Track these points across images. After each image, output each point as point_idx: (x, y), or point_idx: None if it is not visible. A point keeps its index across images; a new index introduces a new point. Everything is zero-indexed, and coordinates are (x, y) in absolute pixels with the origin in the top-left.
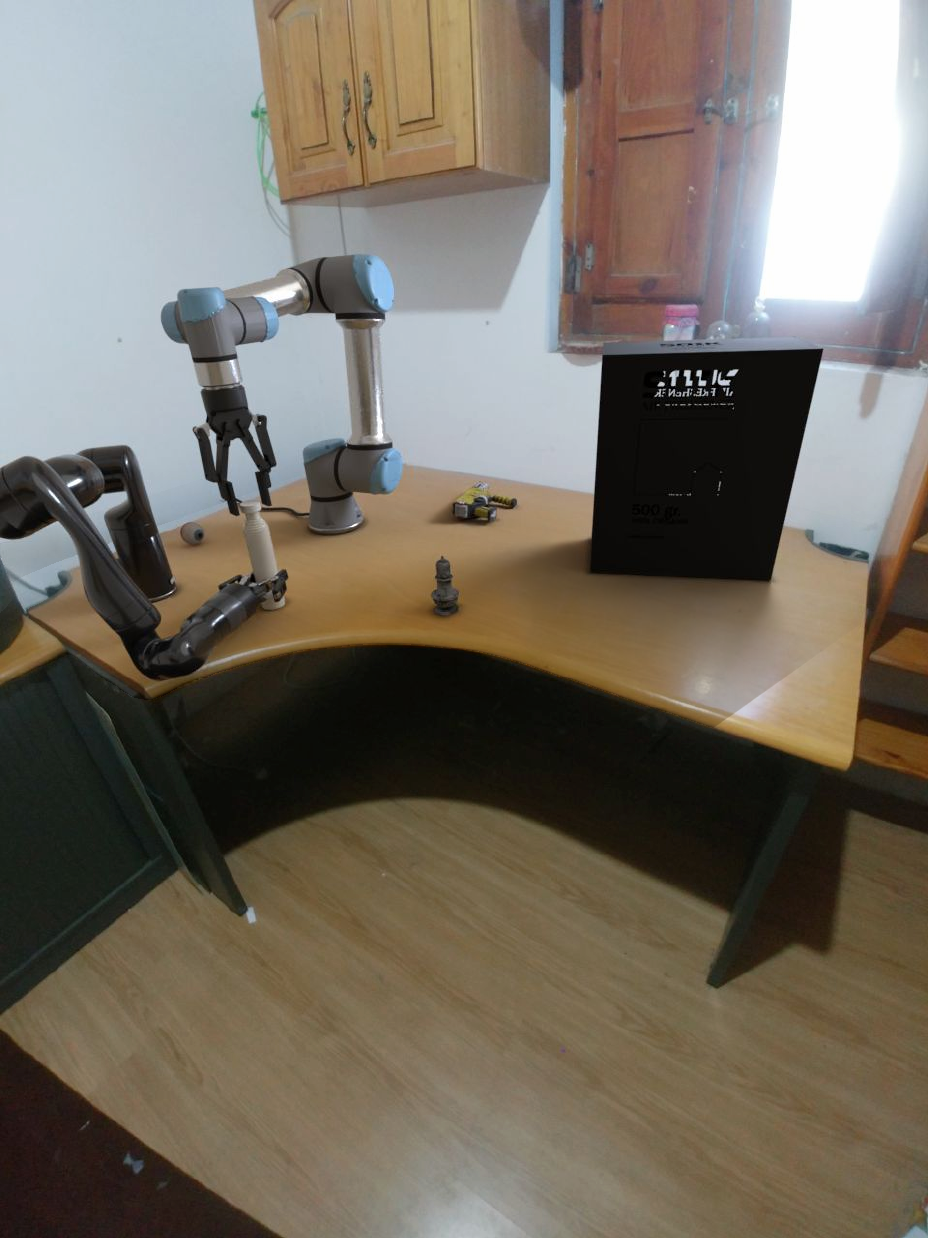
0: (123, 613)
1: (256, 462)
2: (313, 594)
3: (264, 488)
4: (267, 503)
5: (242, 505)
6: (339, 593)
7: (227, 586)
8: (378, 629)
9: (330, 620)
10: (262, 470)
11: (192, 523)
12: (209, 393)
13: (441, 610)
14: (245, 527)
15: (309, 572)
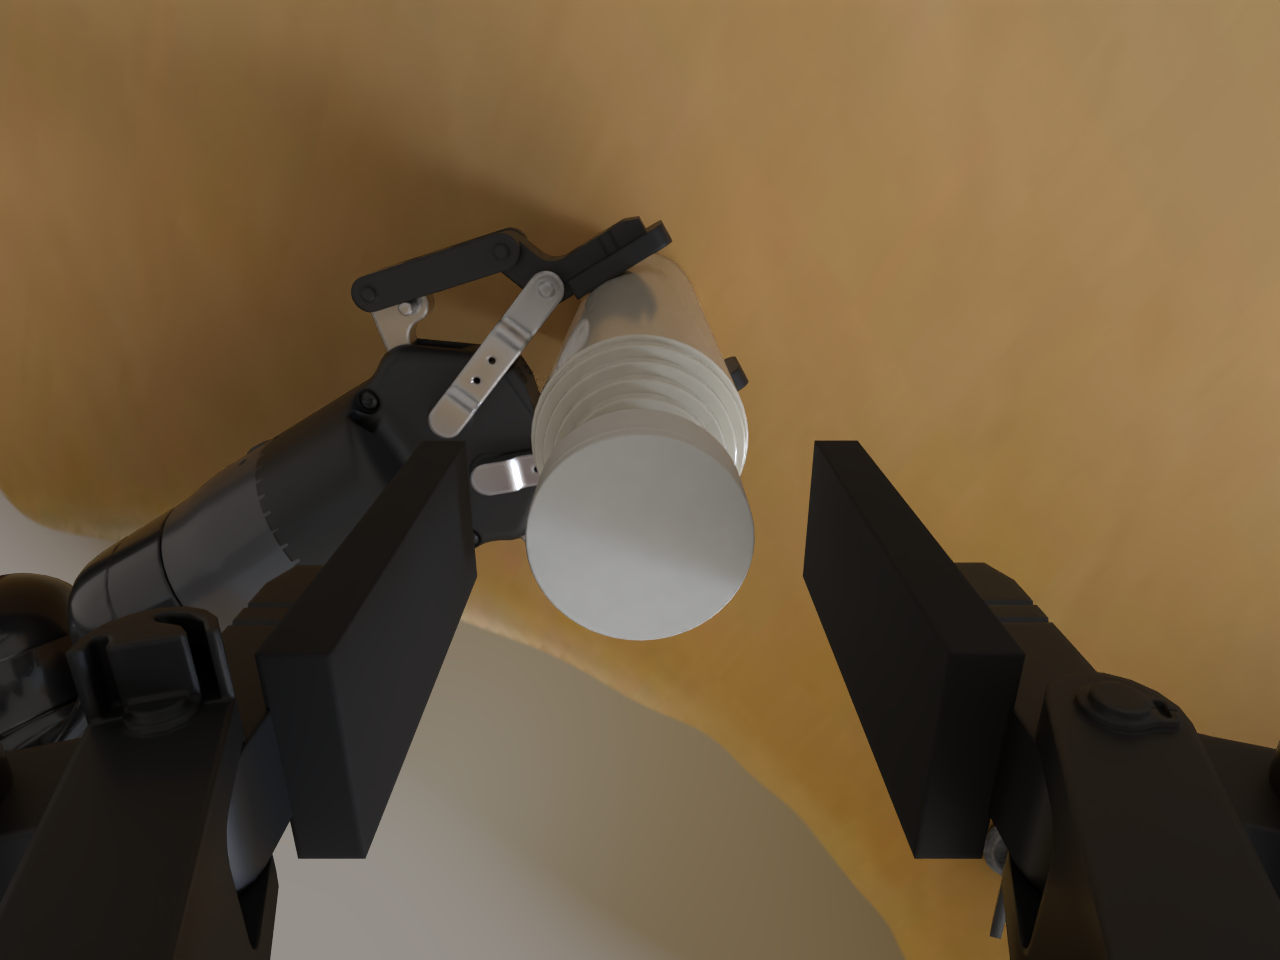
0: None
1: (1047, 931)
2: (824, 369)
3: (852, 697)
4: (808, 585)
5: (542, 554)
6: (903, 456)
7: (335, 504)
8: (791, 777)
9: (722, 615)
10: (1008, 845)
11: None
12: None
13: (1003, 855)
14: (544, 458)
15: (990, 105)
